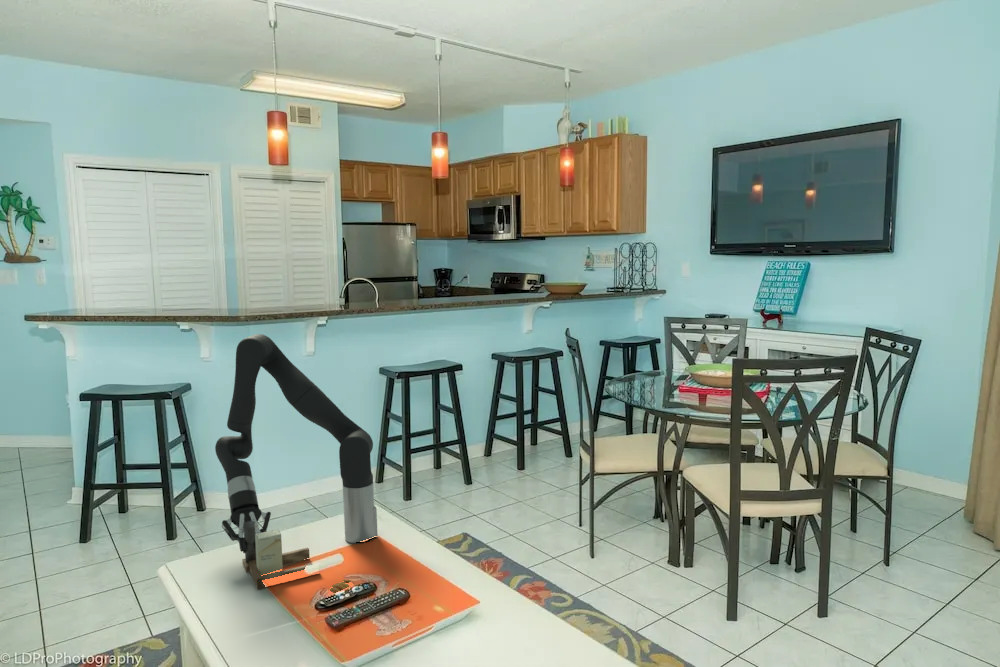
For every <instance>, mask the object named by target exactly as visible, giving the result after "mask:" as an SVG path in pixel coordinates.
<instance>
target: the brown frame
mask: <svg viewBox="0 0 1000 667" xmlns="http://www.w3.org/2000/svg"><path fill="white" fill-rule="evenodd" d="M243 527H244V534H243V537H244V538H245V544H246V553H244V555H245V556H244V558H242V566H243V568H244V571H245V572H246V573H250V576H251V579H253V582H254V585H255V587H256V588H257V590H258V591H259V590H263V589H267V588H266V587H265V585H264V584H263V582H262V580H265V579H270V578H274V577H278V576H282V575H285V574H289V573H293V572H297V571H301V570H304V569H305V567H306V565H307V564H305V565H300V566H297V567H294V568H293V567H292V568H289V569H283V571H280V572H275V573H271V574H267V575H263V576H261V574H260V572H259V570H258V568H257V565H256V543H255V521H246V522H244V523H243ZM307 558H310V548H309V547H305V548H300V549H296V550H292V551H287V552H282V565H283V566H285V565H286V564H287V565H290V564H295V563H298V562H297V561H299V562H301V561H300V560H304V559H307ZM304 561H305V560H304ZM294 562H295V563H294ZM287 565H286V566H287Z"/></svg>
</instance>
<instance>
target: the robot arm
mask: <svg viewBox="0 0 1000 667" xmlns="http://www.w3.org/2000/svg"><path fill="white" fill-rule="evenodd" d="M261 367H262V368H263V369H264V370H265V371H266V372H267V373H268V374H270V376H271V377H272V378H273V379H274V380H275V381H276V383H277V385H278V386H279V388H280V390H281V392H282V394H283V396H284V397H285V400H286V401H287V402H288V403H289V405H291V406H292V407H293V409H295V410H296V411H297V412H298V413H299V414H300V415H302V417H303V418H304V419H307V421H310V423H312V424H315V425H316V426H319V427H320V428H322V429H324V430H326V431H327V432H328V433H329V434H331V435H332V437H334V439H335V440H337V442H338V444H340V445H339V450H338V452H339V453H338V454H339V456H338V458H339V470H340V471H339V472H340V478H341V479H342V480H341V481H342V497H343V498H342V500H343V501H342V502H343V517H344V518H343V519H344V522H343V523H344V539H345V541H346V542H348V543H350V544H357V543H356V542H360V541H363V540H366V539H369V538H372V537H374V536H378V512H377V510H378V509H377V507H376V506H375V495H374V494H375V492H374V475H373V472H372V466H371V465H372V463H371V454H372V452H373V451H372V450H373V447H374V442H373V439H372V437H371V435H370V434H369V433H368V432H367V431H366V430H364V429H363V428H362V427H361V426H359V425H358V424H357V423H356V422H354V421H353V420H351V419H350V418H349V417H348V416H347V415H346V414H345V413H344V412H343V411H342V410H341V409H340V408H339V406H337V405H336V404H335V403H334V402H333V401H332V399H331V398H329V397H328V396H327V395H326V393H325V392H324V391H322V390H321V389H320V388H319V387H318V386H317V385H316V384H315V383H314V382H313V381H312V380H311V379H310V378H308V376H306V375H305V374H304V373H303V372H302V371H301V370H300V369H299V368H298V367H297V366H296V365H294V364H293V362H291V361H290V360H289V358H288V357H287V356H286V355H285V353H284V352H282V350H281V349H280V348H279V347H278V345H277V344H276V343H275V342H274V341H273V340H272V339H271V338H270V337H269V336H268V335H265V334H260V333H256V334H252V335H250V336H247V337H244V338H243V339H241V340H240V342H238V344H237V346H236V350H235V373H234V374H235V375H234V383H233V384H234V386H233V394H232V399H231V404H230V408H229V412H228V418H227V422H226V423H227V424H226V426H227V429H229V430H230V431H231V432H235V433H236V432H237V433H240V436H239V435H237V436H236V435H231V436H230V435H229V436H228V435H226V436H225V435H224V436H221V437H220V438H218V439H217V441H216V443H215V445H214V446H215V447H214V449H215V455H216V457H217V459H218V461H219V464H221V467H222V469H223V470H224V474H225V478H226V484H227V494H228V495H227V497H228V502H229V507H230V508H229V509H230V517H229V518H228V519H227V520H226V519H224V520H222V522H221V528H222V529H223V530H224V532H225V533H226V534H227V536H228V537H229V539H230V540H231V541H233V542H235V541H237V542H238V544H239V550H240V552H242V554H245V553H246V544H245V538H244V527H243V523H244V522H246V521H255V534H257V533H262V532H266V531H268V526H269V523H270V519H271V514H272V513H271V512H270V511H267V512H263V511H262V510H261V509H260V507H259V502H258V501H259V500H258V497H257V496H258V495H257V491H256V486H255V483H254V480H253V479H254V478H253V474H252V470H251V468H252V467H251V465H250V463H249V462H247V461H246V459H247V458H249V457H250V456H251V454H252V453H253V450H254V448H253V447H254V446H253V445H254V443H253V438H252V437H253V436H252V424H253V420H254V416H255V412H256V411H255V410H256V401H257V400H256V384H257V383H256V382H257V378H258V375H259V372H260V370H261ZM260 518H262V521H263V525H262V528H260V527H259V523H258V522H259V520H260ZM232 524H233V525H234V526H236V527H237V528H238V533H236V531H235V530H234V529H233V528H232Z"/></svg>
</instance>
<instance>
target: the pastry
mask: <svg viewBox="0 0 1000 667" xmlns="http://www.w3.org/2000/svg"><path fill="white" fill-rule="evenodd" d="M342 581H344V582H342ZM342 581H340V582H341V583H340V582H337V583H335V584H332V585H331V586H332V587H333V588H331V589H330V591H331V592H333V593H336V592H338V591H341V590H343V589H345V588H347V587H349V585H348V584H345V583H349V582H351V581H352V580H351V579H343V580H342Z"/></svg>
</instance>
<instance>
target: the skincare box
mask: <svg viewBox="0 0 1000 667" xmlns="http://www.w3.org/2000/svg"><path fill="white" fill-rule="evenodd" d="M255 543H256V565H257V568H258V570H259V572H260V574H261V575H263V574H267V573H270V572H273V571H276V570H280V569H283V568H284V565H282V553H283V548H282V546H283V544H282V533H281V532H280V530H279V529H278V528H276V529H272V530H266V532H262V533H257V534H255ZM283 570H284V569H283Z"/></svg>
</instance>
